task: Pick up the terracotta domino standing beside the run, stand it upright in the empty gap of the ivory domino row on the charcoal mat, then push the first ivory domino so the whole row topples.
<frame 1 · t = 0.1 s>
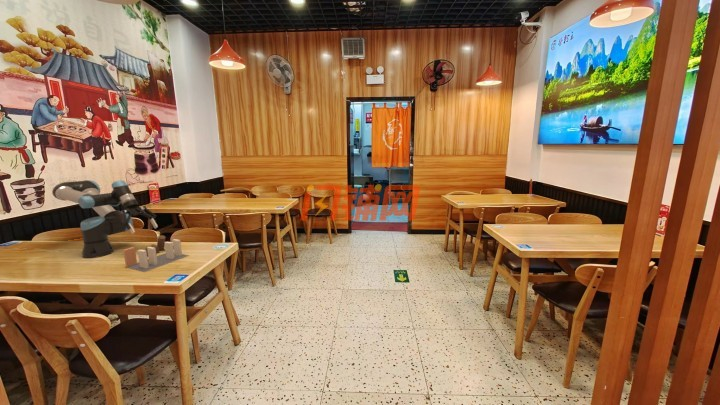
hand: (145, 230, 184), 15 cm above the table, tool tilted 35°, fingers open, 13 cm apart
domino 5: (178, 255, 181), point 1 cm above the table, touching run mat
brown irregular block: (160, 252, 188), on the table
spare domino: (131, 265, 166), point 1 cm above the table, touching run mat
domino 1: (144, 267, 163), point 1 cm above the table, touching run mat
domino 4: (170, 258, 177), point 1 cm above the table, touching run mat
domino 2: (153, 264, 168), point 1 cm above the table, touching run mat
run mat: (158, 262, 172), on the table
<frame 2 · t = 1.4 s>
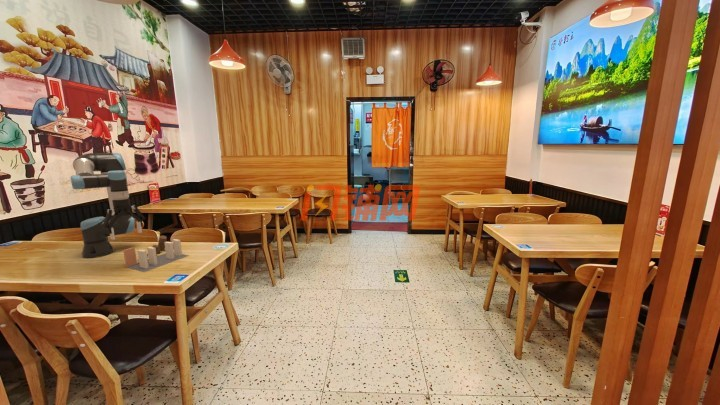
hand: (126, 235, 163), 18 cm above the table, tool pointing down, fingers open, 13 cm apart
brown irregular block: (161, 253, 188), on the table
everything else where it was.
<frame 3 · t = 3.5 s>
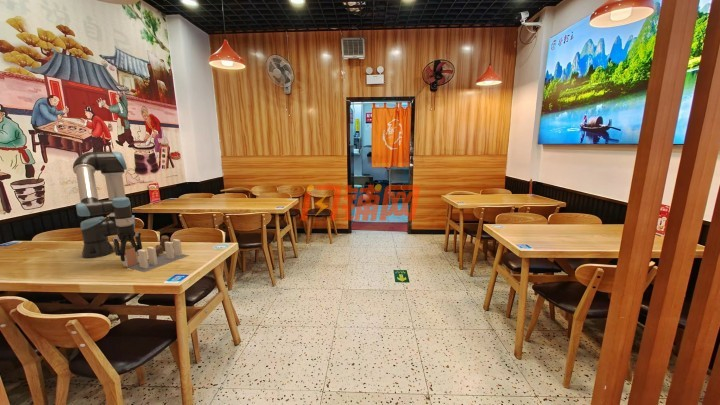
hand: (131, 263, 166), 1 cm above the table, tool pointing down, fingers closed on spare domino, 5 cm apart
brown irregular block: (163, 253, 188), on the table
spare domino: (131, 265, 166), point 1 cm above the table, touching gripper, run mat
everything else where it was.
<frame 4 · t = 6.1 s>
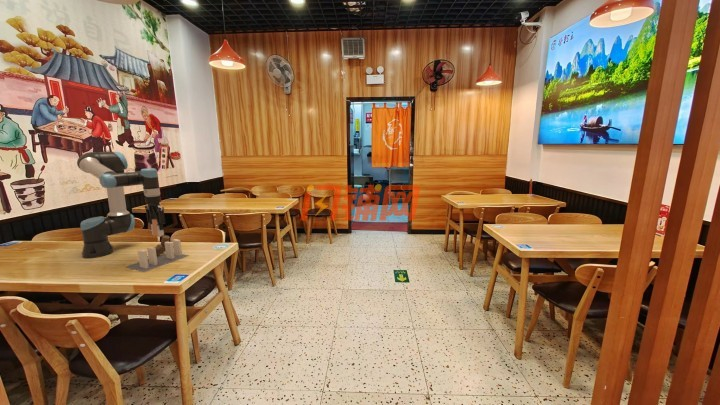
hand: (158, 234, 169), 17 cm above the table, tool pointing down, fingers closed on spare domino, 5 cm apart
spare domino: (158, 236, 169), point 16 cm above the table, touching gripper
when the fingers open (3 cm above the table, at t = 9.0 s): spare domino drops 1 cm, resting on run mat.
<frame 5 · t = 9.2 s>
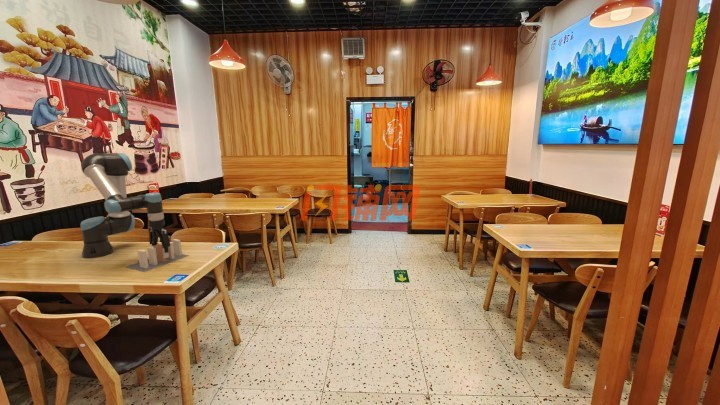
hand: (161, 256, 172), 3 cm above the table, tool pointing down, fingers open, 8 cm apart
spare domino: (162, 260, 172), point 1 cm above the table, touching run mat
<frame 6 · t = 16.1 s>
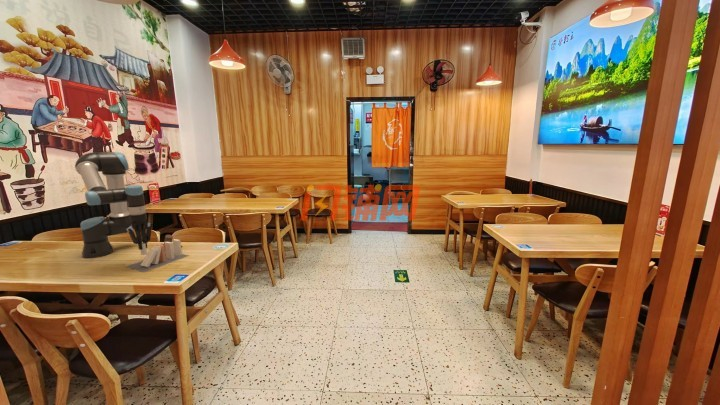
hand: (144, 254, 163), 8 cm above the table, tool pointing down, fingers closed
brown irregular block: (167, 252, 190), on the table
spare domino: (162, 260, 172), point 1 cm above the table, touching domino 2, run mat
domino 1: (144, 266, 163), point 1 cm above the table, tilted 38°, touching domino 2
domino 2: (153, 263, 168), point 1 cm above the table, tilted 20°, touching domino 1, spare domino
everything else where it was.
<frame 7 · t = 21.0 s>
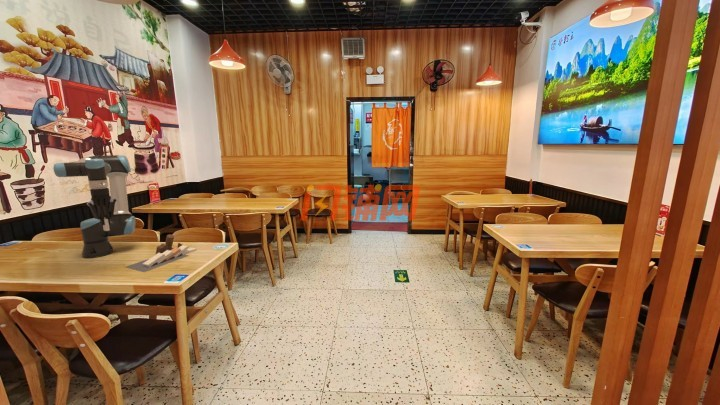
hand: (106, 230, 159), 22 cm above the table, tool pointing down, fingers closed
domino 5: (179, 253, 182), point 1 cm above the table, tilted 94°, touching domino 4, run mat
brown irregular block: (169, 251, 190), on the table, touching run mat
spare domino: (163, 259, 173), point 1 cm above the table, tilted 72°, touching domino 2, domino 4, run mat
domino 1: (146, 265, 164), point 1 cm above the table, tilted 71°, touching domino 2
domino 4: (171, 256, 178), point 1 cm above the table, tilted 71°, touching domino 5, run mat, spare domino
domino 2: (155, 262, 169), point 1 cm above the table, tilted 71°, touching domino 1, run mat, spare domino
at the end: domino 5 tilted 94°; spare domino inside the target area (0.4 cm from its centre), point 1.4 cm above the table; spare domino tilted 72° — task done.
